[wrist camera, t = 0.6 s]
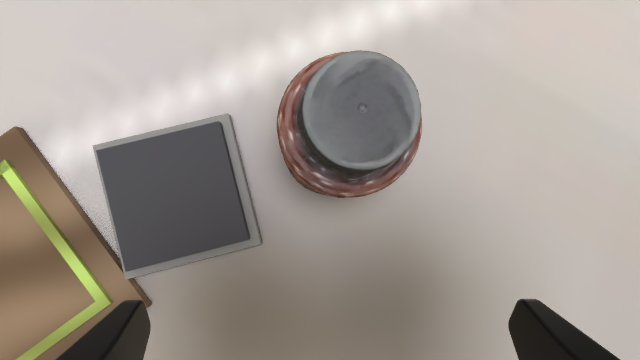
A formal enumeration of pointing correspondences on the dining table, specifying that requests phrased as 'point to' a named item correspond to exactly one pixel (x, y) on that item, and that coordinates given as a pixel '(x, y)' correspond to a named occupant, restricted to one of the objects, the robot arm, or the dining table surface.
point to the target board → (49, 259)
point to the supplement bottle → (349, 124)
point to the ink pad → (177, 195)
